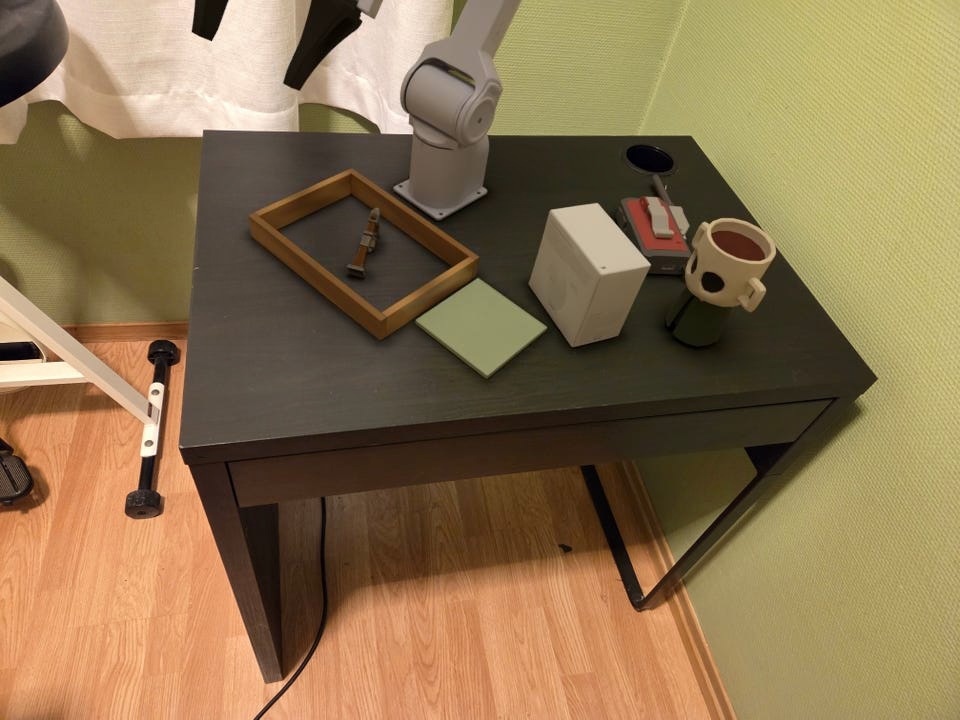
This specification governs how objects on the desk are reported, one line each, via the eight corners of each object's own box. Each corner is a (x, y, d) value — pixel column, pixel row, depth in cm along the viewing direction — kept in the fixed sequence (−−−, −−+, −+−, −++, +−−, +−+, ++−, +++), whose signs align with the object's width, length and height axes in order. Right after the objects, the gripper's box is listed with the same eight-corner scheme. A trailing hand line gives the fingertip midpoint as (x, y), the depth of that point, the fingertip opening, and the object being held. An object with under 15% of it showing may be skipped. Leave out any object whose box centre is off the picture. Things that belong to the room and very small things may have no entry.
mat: (477, 281, 75) (478, 277, 75) (546, 330, 72) (547, 327, 71) (414, 323, 69) (415, 319, 69) (486, 379, 66) (487, 375, 65)
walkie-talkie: (705, 283, 81) (658, 184, 93) (720, 255, 78) (669, 157, 90) (637, 281, 79) (599, 181, 92) (650, 253, 76) (608, 153, 89)
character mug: (640, 300, 77) (682, 209, 67) (690, 291, 79) (738, 202, 70) (690, 371, 71) (745, 282, 61) (743, 359, 73) (804, 271, 63)
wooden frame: (351, 188, 83) (351, 167, 80) (475, 277, 75) (479, 257, 73) (251, 236, 74) (247, 215, 72) (379, 341, 67) (380, 320, 65)
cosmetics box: (621, 336, 73) (654, 264, 65) (571, 349, 70) (599, 276, 62) (574, 273, 78) (599, 199, 71) (526, 283, 76) (547, 208, 68)
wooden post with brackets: (387, 226, 77) (384, 206, 73) (367, 287, 75) (362, 270, 71) (372, 222, 78) (368, 202, 73) (352, 283, 75) (346, 266, 71)
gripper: (199, -208, 43) (129, 0, 46) (398, -92, 44) (314, 104, 47) (245, -156, 49) (181, 22, 53) (417, -56, 50) (342, 113, 54)
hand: (246, 62), depth 51 cm, fingers open, 7 cm apart
